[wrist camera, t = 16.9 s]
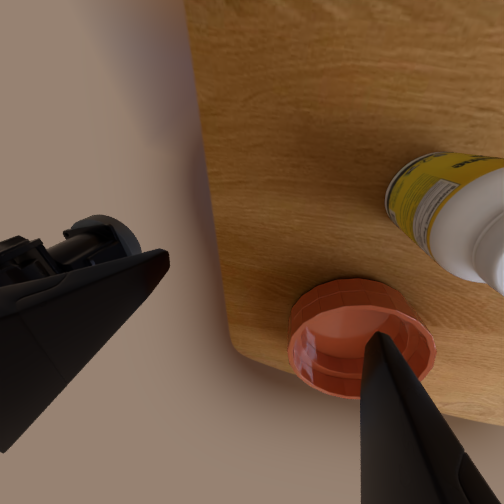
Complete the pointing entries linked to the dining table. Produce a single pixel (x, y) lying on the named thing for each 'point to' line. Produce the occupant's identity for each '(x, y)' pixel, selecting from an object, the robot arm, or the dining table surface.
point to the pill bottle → (454, 212)
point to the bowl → (352, 333)
